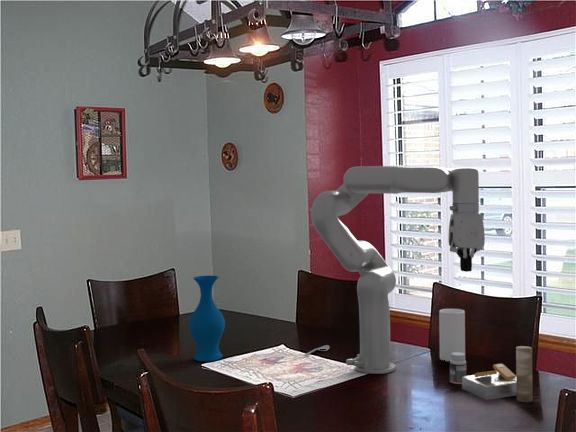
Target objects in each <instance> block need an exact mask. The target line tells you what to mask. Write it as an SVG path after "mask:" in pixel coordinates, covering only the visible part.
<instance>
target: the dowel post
mask: <svg viewBox="0 0 576 432" xmlns="http://www.w3.org/2000/svg"><path fill="white" fill-rule="evenodd" d="M515 354H516V355H515V360H516V362H515V363H516V364H515V369H516V371H515V372H516V374H515V375H516V385H517V395H516V401H517V402H522V403H531V402H533V399H534V398H533V397H534V396H533V348H532V347H531V346H526V345H525V346H524V345H520V346H516V347H515Z"/></svg>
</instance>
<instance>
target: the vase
mask: <svg viewBox="0 0 576 432" xmlns="http://www.w3.org/2000/svg"><path fill="white" fill-rule="evenodd" d="M218 279H219V276H217V275H201V276H200V275H199V276H198V275H197V276H194V277H193V280H194V281H195V282H196V283H197V285H198V286H199V290H200V298H199V302H198V304H197V307H196V308H195V310H194V311H193V313H192V315H191V316H190V318H189V321H188V327H189V332H190V334H191V337H192V338H193V340H194V342H195V345H196V351H195V354H194V355H193V357H192V358H193V360H195V361H197V362H202V363H203V362H205V363H207V362H215V361H219V360H221V359H222V358H223V353H221V351H220V348H219V344H220V341H221V338H222V336H223V333H224V332H225V327H226V321H225V317H224V315H223V313H222V312H221V311H220V310H219V308H218V306H217V305H216V304H215V302H214V298H213V286H214V284H215V282H216V281H217V280H218Z"/></svg>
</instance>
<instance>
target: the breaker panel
mask: <svg viewBox="0 0 576 432" xmlns="http://www.w3.org/2000/svg"><path fill="white" fill-rule="evenodd" d="M461 390H464V391H466V392H468V393H470V394H473V395H475V396H477V397H479V398H482V399H484V400H486V401H491V400H497V399H502V398H508V397H514V396H517V385H516V377H515V379H510V380H506V379H505V378H504V377H502V376H501V375H500V374H499V373H498V372H497V374H493V375H487V376H480V377H475V374H472V375H471V374H470V375H466V376H462V384H461Z"/></svg>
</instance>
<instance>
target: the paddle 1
mask: <svg viewBox="0 0 576 432" xmlns="http://www.w3.org/2000/svg"><path fill="white" fill-rule="evenodd" d="M493 374H497V371H496V370H495V369H494V370H490V371H489V370H487V371H482V372H481V371H480V372H476V373H474V375H475V377H480V376H487V375H493Z"/></svg>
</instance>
